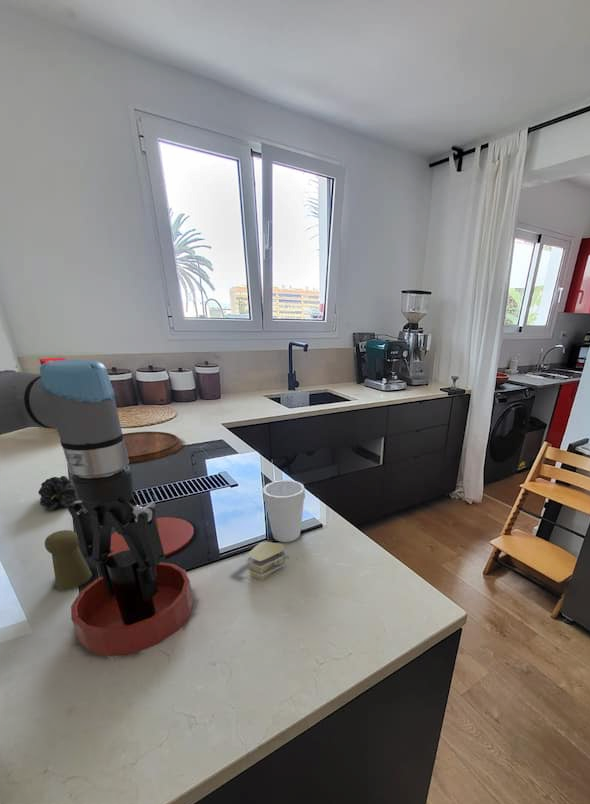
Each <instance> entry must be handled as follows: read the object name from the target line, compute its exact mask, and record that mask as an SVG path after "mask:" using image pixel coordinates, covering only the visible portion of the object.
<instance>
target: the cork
mask: <svg viewBox="0 0 590 804" xmlns="http://www.w3.org/2000/svg"><path fill="white" fill-rule="evenodd" d="M44 547H45V550H46V551H47V552H48V553H49V554H51V559H52V565H53V573H54V578H55V585H56V587H57V588H58V589H61V590H69V589H74V588H78V587H80V586H82V585H84V584H85V583H88V582H89V581H90V579H92V576H93V573H92V570H91V568H90V566H89V565H88V563H87V561H86V558H84V557H83V556H82V553H81V549H80V547H79V541H78V537H77V533H76V531H73V530H70V529H63V530H58V531H55V532H52V533H50V534H49V535H47V537H46V538H45V540H44Z"/></svg>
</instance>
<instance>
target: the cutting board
mask: <svg viewBox="0 0 590 804" xmlns="http://www.w3.org/2000/svg"><path fill="white" fill-rule="evenodd" d="M122 434H123V439H124V443H125V447H126V451H127V455H128V459H129V464H135V463H136V464H137V463H143V462H147V461H148V462H149V461H153V460H156V459H160V458H163V457H166V456H169V455H175V454H176V453H178V452H179V451H180V450H182V448H183V442H182V440H181V439H180V438H179V437H178V436H177V435H176V434H174V433H169V432H164V431H134V432H126V433H122Z"/></svg>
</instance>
